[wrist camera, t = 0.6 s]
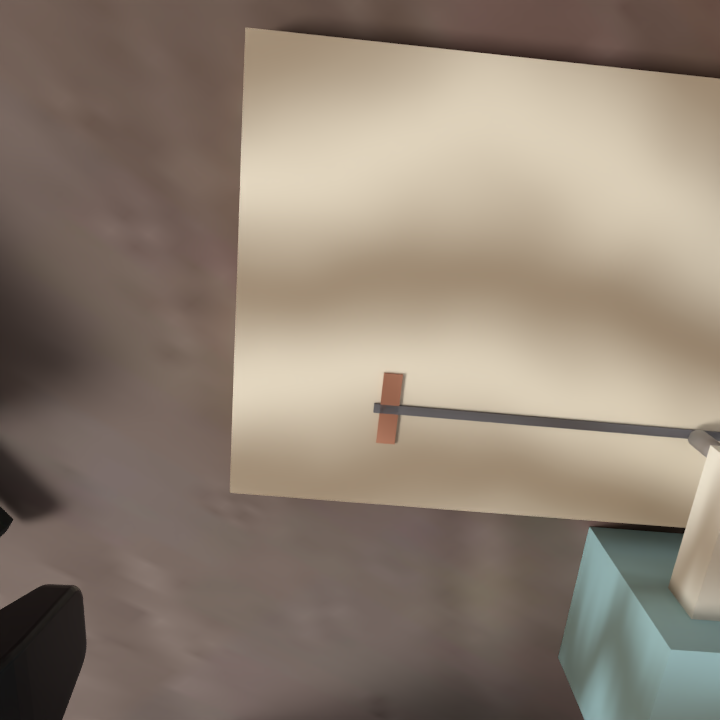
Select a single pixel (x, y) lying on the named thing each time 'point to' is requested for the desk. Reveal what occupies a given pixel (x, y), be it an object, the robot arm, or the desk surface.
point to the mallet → (650, 615)
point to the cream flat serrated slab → (475, 281)
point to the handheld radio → (4, 521)
